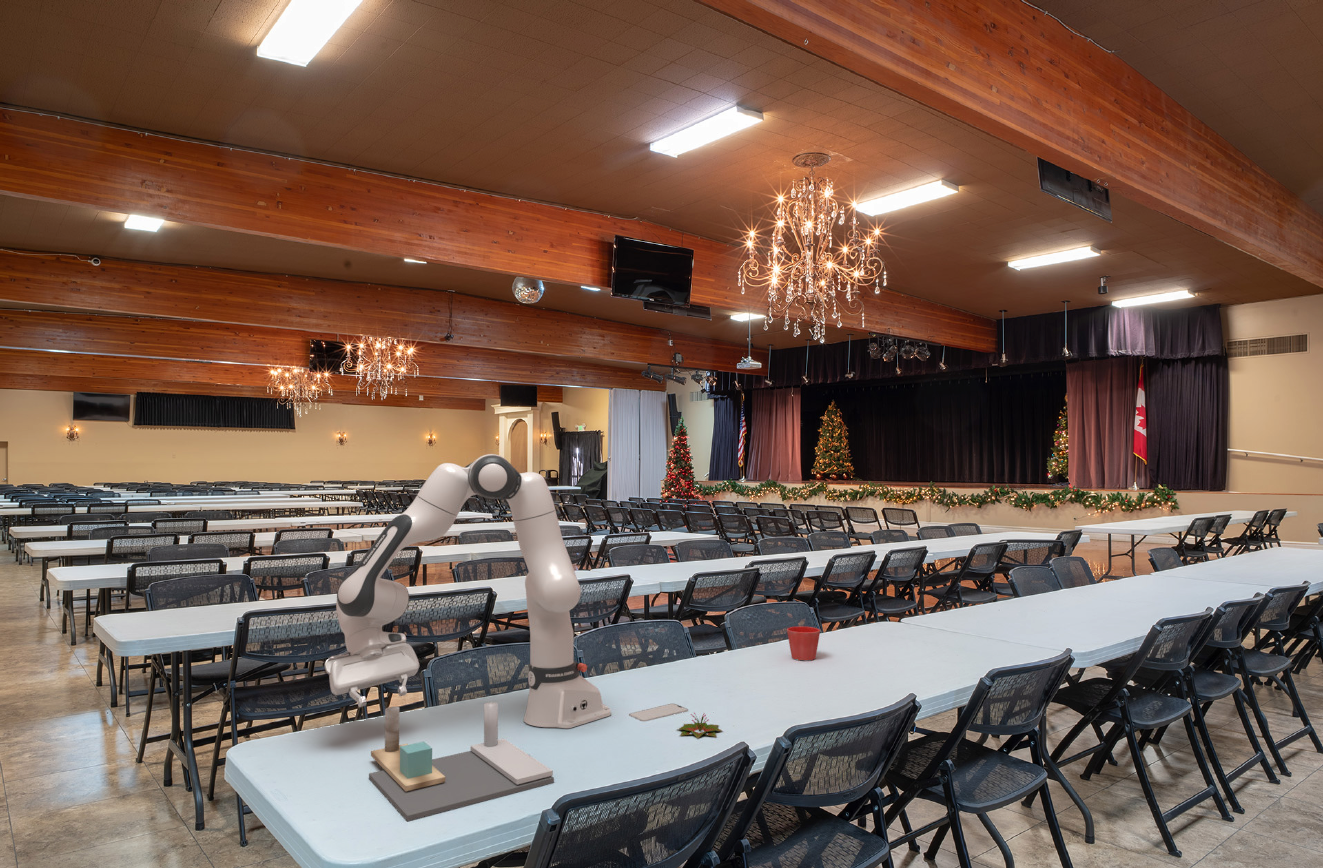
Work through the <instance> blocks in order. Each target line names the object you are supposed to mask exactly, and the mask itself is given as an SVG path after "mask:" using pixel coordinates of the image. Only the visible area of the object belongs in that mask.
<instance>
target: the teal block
mask: <svg viewBox="0 0 1323 868" xmlns="http://www.w3.org/2000/svg"><path fill="white" fill-rule="evenodd" d="M432 759H433V747H432V746H430V745H429V744H427V743H426V741H420V742H416V743H411V744H408V745H405V746H400V772H401V773H402V774H403V775H404V776H405V777H406V778H407V779H409V778H413V777H418V776H422V775H426V774H431V773H432Z"/></svg>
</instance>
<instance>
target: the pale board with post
mask: <svg viewBox="0 0 1323 868" xmlns="http://www.w3.org/2000/svg"><path fill="white" fill-rule="evenodd" d="M483 708H484V709H483V718H484V719H483V742H482V743H481V742H480V743H476V744H472V745H470V751H472V752H473V753H475V754H476V755H478V756H479V757H480V758H482V759H483V760H484V761H486V762H487V763H488V764H490V765H491V766H492V767H494V768H495V769H496V770H498V771H499V772H500V773H502V774H503V775H504V776H506V777H507V778H509V779H510V780H511V781H513V782H514V783H515V784H517V785H518V784H522V783H526V782H529V781H533V780H537V779H541V778H545V777H549V776H552V777H553V776H554V774H553V773H554V772H553V771H554V770H553V769H551V768H550V767H548V766H546V765H545V764H543V763H542V762H540V761H539V760H537V759H536V758H535V757H533V756H531V755H530V754H529V753H526V752H525V751H524V750H522V749H521V748H519V747H517V746H516V745H514V744H513V743H511V742H510V741H509V740H507V739H505V738H500V739H498V737H499V735H498V734H499V731H498V730H499V729H498V726H499V723H498V722H499V721H498V719H499V717H498V716H499V714H498V713H499V712H498V710H499V705H498V702H496V701H489V702H485V703H484V704H483Z"/></svg>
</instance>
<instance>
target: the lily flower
mask: <svg viewBox="0 0 1323 868" xmlns="http://www.w3.org/2000/svg"><path fill="white" fill-rule="evenodd" d="M693 714H694V715H693ZM693 714H692V713H691V714H690V716H692V717H693V718H694V720H693V719H691V721H692V722H693V723H683V725H682V726H680V727H679V728H677V729H676V731H678V730H679V731H680V730H681V733H680V735H679V736H681V737H682V736H695V737H696V739H699V738H700V737H701V736H708V737H715V738H717V733H716V732H715V731H718V732H723V730H722V729H720V728H718V727H719V724H710V723H709V724H708V723H707V722H708V721H710V719H707V717H706V715H707V714H705V713H704V712H703V715H702V717H701V718H700V719H699V718H698V716H697V715H696V713H695V712H693ZM682 730H684V731H682Z"/></svg>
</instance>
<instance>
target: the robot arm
mask: <svg viewBox="0 0 1323 868" xmlns="http://www.w3.org/2000/svg"><path fill="white" fill-rule="evenodd" d="M475 495H478V496H480V497H483V498H485V499H491V500H506V502H507V503H508V506H509V509H510V513H511V516H512V520H513V525H514V529H515V533H516V538H517V541H518V547H519V550H520V552H521V554H522V557H523V559H524V563H525V564H526V567H527V571H528V572H527V575H526V577H525V581H524V587H525V595H526V609H527V618H528V624H529V633H530V634H529V635H530V637H529V642H530V643H529V645H530V646H529V647H530V650H529V651H530V654H529V659H530V663H528V671H527V672H528V673H527V674H528V675H527V676H528V677H527V678H528V681H527V682H528V688H529V689H528V699H527V704H526V708H525V709H526V710H525V714H524V717H523V721H524V723H526V724H527V725H530V726H534V727H538V728H539V727H540V728H541V727H542V728H559V729H572V728H574V727H577V726H581V725H585V724H587V723H591V722H594V721H597V720H600V719H603V718H607V717H610V716H611V715H612V711H611V708H610V707H609V706H607V705H606V704H604V703H603V699H602V694H601V692H600V690H599V689H598V687H597V686H596V685H594V684H592V683H591V682H590V681H588V679H586V678H584V677H583V676H582V675H581V674H580V672H582V673H585V672H587V670H588V669H587V668H588V665H587V664H585V663H583V662H577V661H575V660H574V658H575V657H574V628H573V625H572V621H571V613H570V611H571V610H572V609H574V608H575V607H576V606H578V605H577V604H579V602H580V599H581V595H582V590H581V586H580V582H579V579H578V578H577V575H576V572H575V569H574V566H573V563H572V561H571V557H570V555H569V553H568V549H567V547H566V545H565V542H564V538H563V536H562V532H561V527H560V523H559V519H558V516H557V510H556V507H555V503H554V500H553V495H552V494H551V491H550V489H549V487H548V484H547V482H546V479H545V478H544V476H542V474H540V473H538V472H536V471H535V472H533V471H527V472H522V473H521V472H518V470H517V469H516V468H515V467H514V466H513V465H512V464H511V462H509V461H508V459H506V458H505V457H503V456H501V455H499V454H494V453H487V454H484V455H481V456H479V457H477V458H476V459H474V461H473V462H471V463H469V464H468V465H465V466H464V467H463V466H461V465H458V464H456V463H452V462H451V463H450V462H444V463H441V464H439V465H438V466H437V467H436V468H435V469H434V470H433V471H432V473H431V474H430V475H429V476H428V478H427V479H426V480H425V482H424V483H423V485H422V486H421V487H420V490H419V491H418V493H417V495H416V496H415V497H414V500H413V501H412V502H411V504H410V505H409V506H408V507H407V509H405V510H404V511H403V512H402V513H401V514H400V515H397V516H396V517H394V518H392V520H390V521H389V523H388V524H387V525H386V527H385V528H384V529H383V530H382V531H381V533H380V534H379V536H377V538H376V540H374V542H373V544H372V545H371V547H370V548H369V549H368V551H367V552H366V553H365V555H364V556H363V558H361V560H360V561H359V563H358V564H357V565H356V567H354V568H353V570H352V571H351V572H349V574H347V575H346V576H345V578H343V580H342V581H341V583H340V584H339V586H338V588H337V591H336V601H335V603H336V604H335V605H336V607H335V608H336V615H337V616H336V617H337V619H338V624H339V628H340V630H341V632H342V633H343V634H344V645H345V647H346V650H347V652H344V653H340V654H338V655H331V656H330V657H328V659H326V660H325V662H324V669H325V672H326V673H327V674H328V676H329V678H328V679H329V687H330V691H331V694H333V695H335V696H340V695H343V694H347V693H348V694H349V697H350V698H352V699H353V700H354V701H355V702H357V705H358V708H362V707H365V706H366V705H367V700H366V696H365V695H364V696H361V695H360V694H359V693H358V691H359V690H364V689H367V688H370V687H374V686H379V685H382V684H386V683H390V682H393V681H394V682H395V681H397V680H398V681H399V684H401V685H400V686H398V689H397V693H398V695H399V697H402V696H406V695H407V694H408V690H407V687H406V684H407V680H408V678H410V677H414V676H415V675H416V674H417V673H418V671H419V668H420V663H419V659H418V656H417V654H416V652H415V650H414V649H413V647H412V646H411V645H410V644H409V643H407V637H406V634H405V633H402V632H388V631H383V627H384V626H386V625H388V624H391V623H393V622H394V621H396V620H398V619H400V618H401V617H402V616H403V615H404V614H405V612H406V611H407V610H408V607H409V603H410V593H409V591H408V588H407V587H406V585H404V584H403V583H402V582H397V581H394V580H390V579H386V578H385V579H384V578H382V576H383V574H384V573H385V571H386V570H387V568H388V567H390V564H391V563H392V561H393V560H394V559H395V558H396V556H397V555H398V554H399V552H401V550H403V549H405V548H407V547H408V546H410V545H413V544H416V543H422V542H430V541H434V540H437V539H439V538H441V537H443V536H445V535H446V534H447V532H448V531H449V530H450V529H451V528H452V526H453V524H454V522H455V521H456V518H457V517H458V516H459V514H460V511H461V509H463V508H462V507H463V506H464V504H466V502H467V500H468V499H469V498H471V497H472V496H475Z"/></svg>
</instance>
